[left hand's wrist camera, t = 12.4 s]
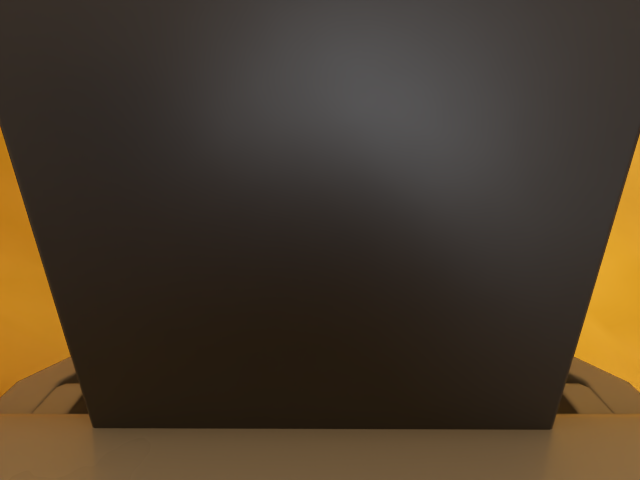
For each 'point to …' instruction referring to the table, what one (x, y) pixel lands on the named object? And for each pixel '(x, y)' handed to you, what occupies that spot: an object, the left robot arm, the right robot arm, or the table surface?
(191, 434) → the left robot arm
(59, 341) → the table surface
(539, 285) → the box
